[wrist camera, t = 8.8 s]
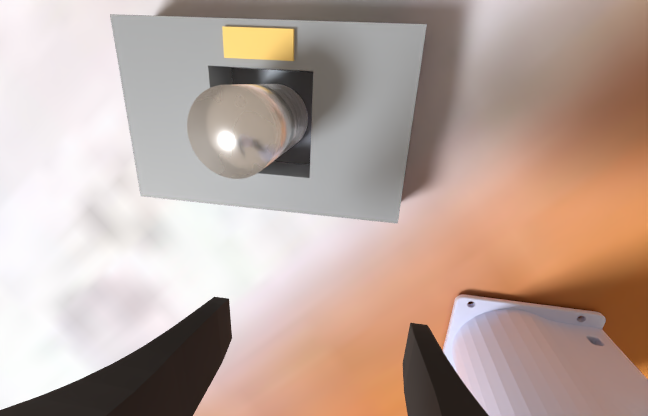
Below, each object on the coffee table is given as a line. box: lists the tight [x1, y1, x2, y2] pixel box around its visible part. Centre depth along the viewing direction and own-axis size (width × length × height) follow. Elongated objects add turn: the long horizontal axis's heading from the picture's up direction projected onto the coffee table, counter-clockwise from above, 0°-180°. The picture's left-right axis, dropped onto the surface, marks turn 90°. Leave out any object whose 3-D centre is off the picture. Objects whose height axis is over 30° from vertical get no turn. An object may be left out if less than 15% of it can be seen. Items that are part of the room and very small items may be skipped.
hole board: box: [110, 14, 427, 223], centre depth 19 cm, size 16×10×3 cm, turn 87°
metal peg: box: [187, 84, 308, 179], centre depth 17 cm, size 4×4×7 cm
